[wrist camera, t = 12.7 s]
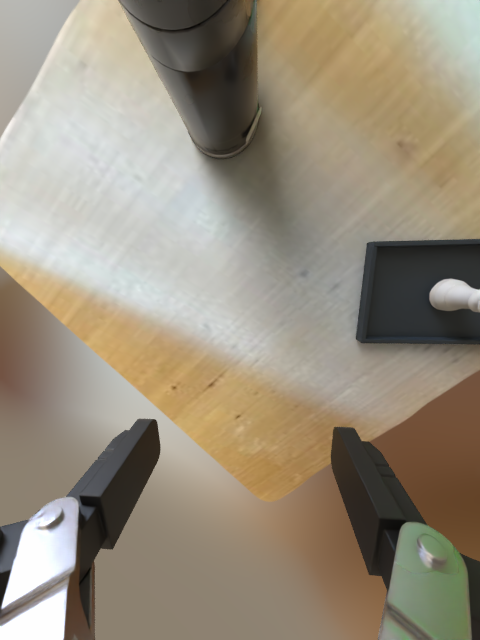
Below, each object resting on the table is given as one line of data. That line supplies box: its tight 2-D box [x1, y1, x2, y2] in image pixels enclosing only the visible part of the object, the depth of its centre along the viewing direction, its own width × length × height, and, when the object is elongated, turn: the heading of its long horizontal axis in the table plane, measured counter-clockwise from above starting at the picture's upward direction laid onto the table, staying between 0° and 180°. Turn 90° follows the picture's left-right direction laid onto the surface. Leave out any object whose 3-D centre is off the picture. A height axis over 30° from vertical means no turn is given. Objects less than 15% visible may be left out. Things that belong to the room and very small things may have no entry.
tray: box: [356, 239, 480, 344], centre depth 31 cm, size 14×20×2 cm
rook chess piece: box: [429, 279, 480, 312], centre depth 28 cm, size 4×4×8 cm
